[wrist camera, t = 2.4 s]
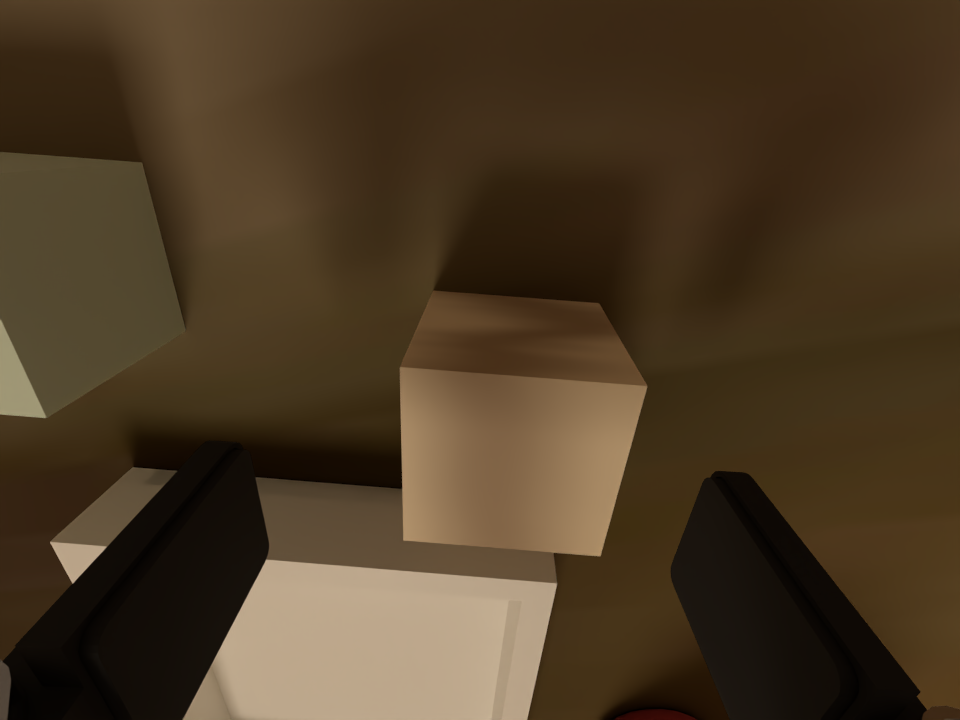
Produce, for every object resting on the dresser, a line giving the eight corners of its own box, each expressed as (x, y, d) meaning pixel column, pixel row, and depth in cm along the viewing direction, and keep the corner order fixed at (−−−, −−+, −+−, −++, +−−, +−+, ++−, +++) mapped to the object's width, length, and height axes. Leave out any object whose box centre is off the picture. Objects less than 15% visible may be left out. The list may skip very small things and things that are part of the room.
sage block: (143, 162, 12) (-65, 178, 8) (187, 330, 14) (46, 417, 10) (-37, 149, 12) (-350, 157, 8) (35, 318, 14) (-173, 400, 10)
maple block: (598, 302, 13) (647, 386, 9) (572, 435, 16) (600, 556, 11) (433, 289, 13) (399, 366, 9) (430, 425, 16) (403, 540, 11)
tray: (546, 500, 17) (557, 583, 14) (502, 743, 26) (502, 828, 22) (132, 467, 17) (50, 541, 14) (229, 720, 26) (191, 801, 23)
